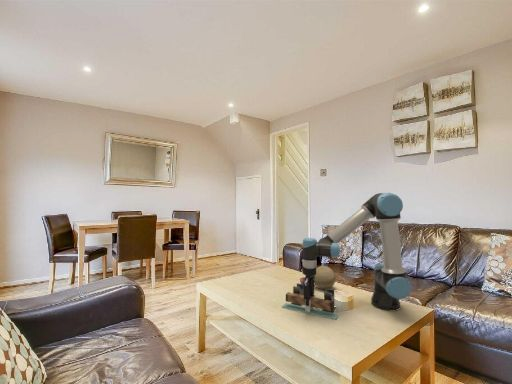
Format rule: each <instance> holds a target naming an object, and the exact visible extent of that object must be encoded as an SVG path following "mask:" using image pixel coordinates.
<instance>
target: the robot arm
mask: <svg viewBox="0 0 512 384" xmlns="http://www.w3.org/2000/svg"><path fill="white" fill-rule="evenodd" d="M403 208H404V204H403V201H402V199H401V198H400V196H398V195H397V194H394V193H391V192H384V193H383V192H380V193H376V194H374V195H372V196H371V197H370V198H368V199H367V200H366V201H365V202H364V203H363V204H361V206H360V209H358V210H357V211H356V212H355V213H353V214H352V215H351V216H350V217H348V218H347V219H346V220H344V221H343V222H341V223H340V225H337V227H336V228H335V229H332V231H331V232H329V233H328V234H327V235H325V236H324V237H322V238H319V240H318V241H317V239H316V238H315V237H313V238H312V237H307V238H303V240H302V259H301V262H302V267H301V270H302V274H303V275H304V276H305V281H304V282H303V285H304V299H305V305H304V307H305V311H307V312H310V311H311V309H314V307H311V299H310V297H312V296H313V297H315V287H314V285H315V283H314V281H315V276H314V275H316V269H317V257H322V258H323V257H325V258H338V257H339V256H340V254H341V253H340V252H341V249H340V245H339V244H340V243H341V242H342V241H343V240H344V239H346V238H347V237H349V236H350V235H351V234H352V233H353V232H355V231H356V230H358V229H359V228H360V227H361V226H362V225H364V224H365V223H367V222H368V221H369V220H370V219H375V218H376V220H377V221H378V222H379V228H380V239H381V240H380V241H381V250H382V257H383V264H376V265H374V269H373V273H374V276H373V279H374V280H373V281H374V282H373V283H374V285H373V286H374V290H373V293H372V296H371V298H370V299H371V300H370V302H371V303H370V304H371V305H372V306H373V307H374V308H377V309H379V308H380V309H379V310H383V309H384V310H383V311H389V310H395V311H398V310H397V309H399V308H400V309H401V301H400V300H402V299H405V298H407V297H408V296H410V294H411V292H412V284H411V282H410V280H408V276H407V270H406V269H405V268H404V267H403V259H402V249H401V240H400V231H399V220H401V212H402V210H403ZM313 294H314V295H313ZM400 309H399V310H400Z"/></svg>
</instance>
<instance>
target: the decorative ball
mask: <svg viewBox="0 0 512 384" xmlns="http://www.w3.org/2000/svg"><path fill="white" fill-rule="evenodd" d="M333 270H334V269H332V268H330V267H328V266H325V265H321V266H318V267H316V275H314V276H315V280H316V285H315V286H316V287H318V288H319V289H322V290H327V289H331V288H332V287H333V286H335V283H336V274H335V272H334V271H333ZM314 284H315V281H314Z"/></svg>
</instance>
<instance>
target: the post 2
mask: <svg viewBox="0 0 512 384" xmlns="http://www.w3.org/2000/svg"><path fill="white" fill-rule="evenodd" d="M323 299H325V300H329V301H334V302H335V289H331V288H329V289H326V291H323ZM321 310H322V311H326V312H331V313H335V310H337V307H334V310H333V311H328V310H323V309H321Z"/></svg>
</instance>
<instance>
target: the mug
mask: <svg viewBox="0 0 512 384" xmlns="http://www.w3.org/2000/svg"><path fill="white" fill-rule="evenodd" d="M299 281H300V284H303V282H304V281H305V277H300V278H299ZM316 286H317V285H316V280H315V283H314V288H315V287H316ZM313 295H315V293H314V294H313ZM312 297H314V296H312Z"/></svg>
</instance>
